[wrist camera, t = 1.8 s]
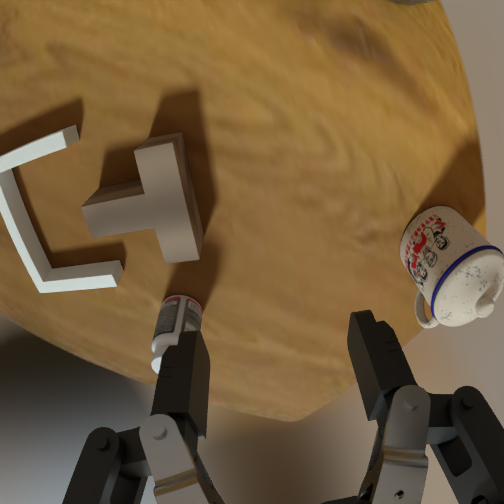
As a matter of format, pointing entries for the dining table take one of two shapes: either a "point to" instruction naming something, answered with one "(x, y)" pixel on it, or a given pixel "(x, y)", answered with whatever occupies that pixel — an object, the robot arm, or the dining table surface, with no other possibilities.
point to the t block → (153, 201)
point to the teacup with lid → (451, 268)
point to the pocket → (23, 234)
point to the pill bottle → (174, 324)
